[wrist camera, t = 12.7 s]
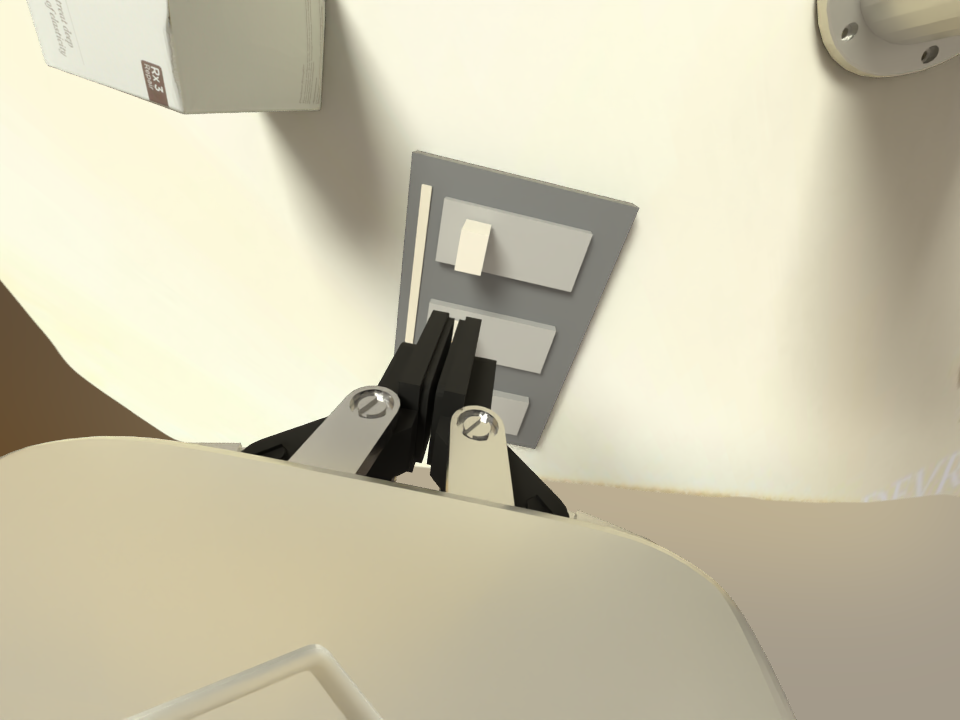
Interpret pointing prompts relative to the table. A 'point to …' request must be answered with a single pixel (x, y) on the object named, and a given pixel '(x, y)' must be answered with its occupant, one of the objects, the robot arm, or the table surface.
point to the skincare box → (191, 50)
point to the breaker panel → (510, 275)
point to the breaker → (472, 247)
